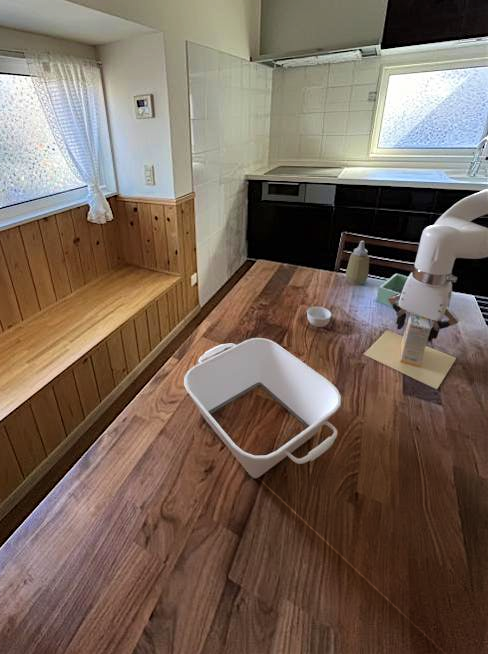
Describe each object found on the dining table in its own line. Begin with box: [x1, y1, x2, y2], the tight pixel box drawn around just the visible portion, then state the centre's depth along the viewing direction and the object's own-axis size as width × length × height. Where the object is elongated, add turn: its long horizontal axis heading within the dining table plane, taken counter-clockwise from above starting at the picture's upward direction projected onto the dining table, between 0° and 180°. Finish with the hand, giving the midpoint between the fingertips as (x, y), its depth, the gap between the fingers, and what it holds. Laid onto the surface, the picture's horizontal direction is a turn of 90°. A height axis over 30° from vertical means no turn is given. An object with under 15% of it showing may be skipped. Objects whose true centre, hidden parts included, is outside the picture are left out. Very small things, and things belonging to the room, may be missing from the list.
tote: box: [375, 272, 409, 313], centre depth 119 cm, size 13×15×6 cm
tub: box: [183, 337, 342, 479], centre depth 75 cm, size 34×27×13 cm
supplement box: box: [400, 312, 432, 367], centre depth 91 cm, size 8×5×13 cm, turn 149°
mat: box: [363, 329, 457, 390], centre depth 94 cm, size 18×16×1 cm
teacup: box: [306, 306, 332, 328], centre depth 110 cm, size 10×10×5 cm
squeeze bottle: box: [345, 240, 370, 286], centre depth 131 cm, size 8×8×18 cm
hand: (415, 332), depth 91 cm, fingers open, 6 cm apart
